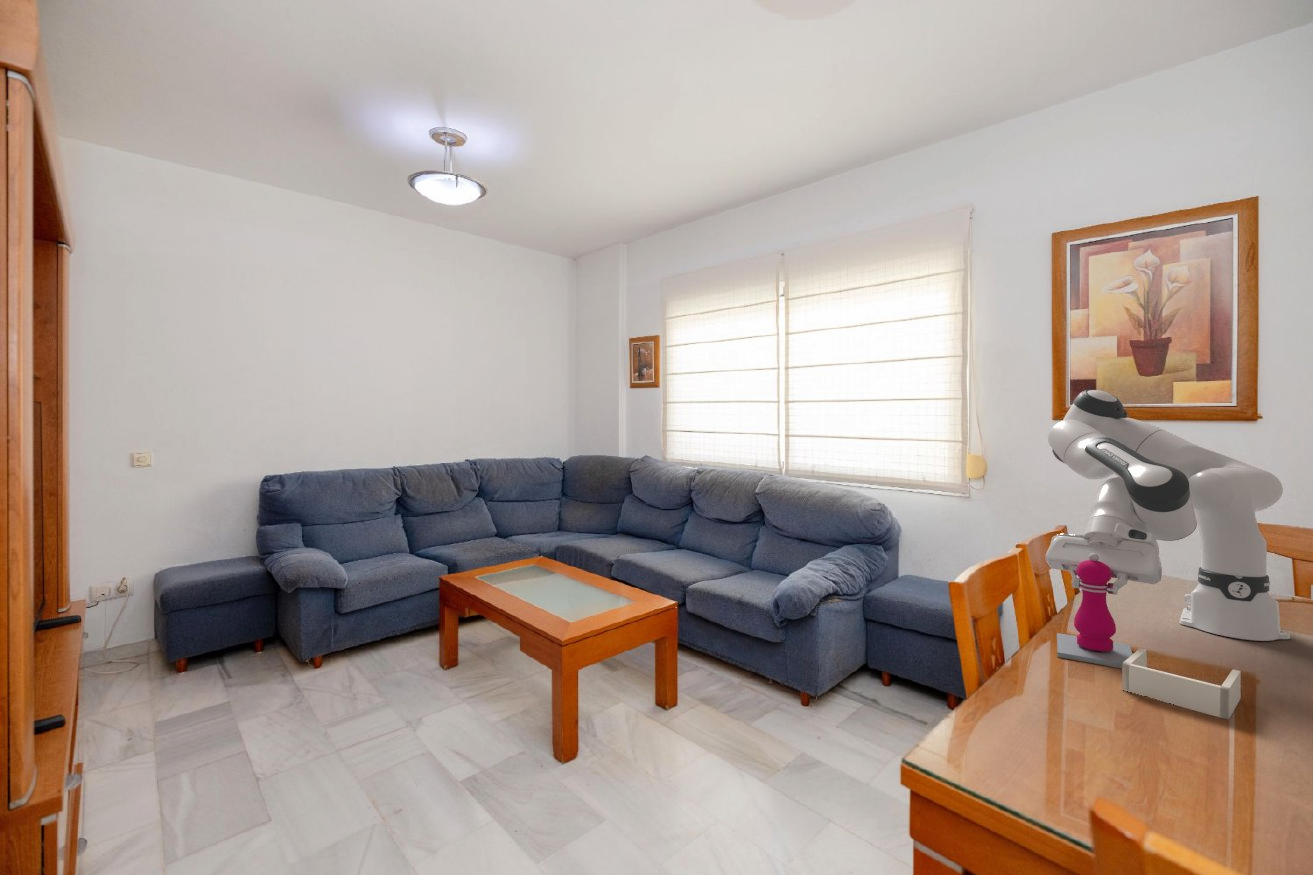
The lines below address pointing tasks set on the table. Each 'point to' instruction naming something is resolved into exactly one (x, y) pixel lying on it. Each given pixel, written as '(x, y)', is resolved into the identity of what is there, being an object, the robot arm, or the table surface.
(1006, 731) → the table surface
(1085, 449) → the robot arm
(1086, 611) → the pepper mill
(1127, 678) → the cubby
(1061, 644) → the pad
